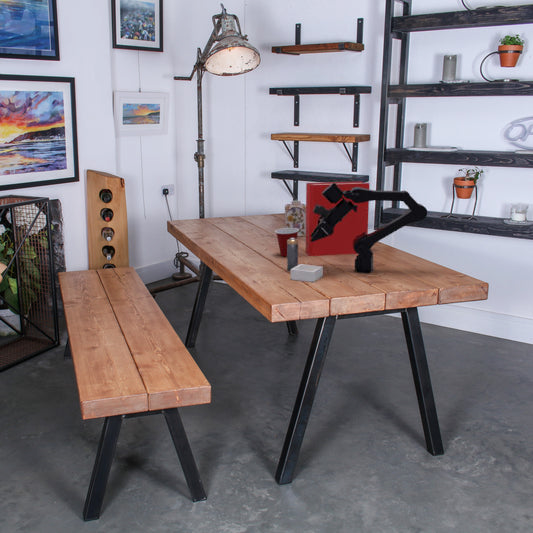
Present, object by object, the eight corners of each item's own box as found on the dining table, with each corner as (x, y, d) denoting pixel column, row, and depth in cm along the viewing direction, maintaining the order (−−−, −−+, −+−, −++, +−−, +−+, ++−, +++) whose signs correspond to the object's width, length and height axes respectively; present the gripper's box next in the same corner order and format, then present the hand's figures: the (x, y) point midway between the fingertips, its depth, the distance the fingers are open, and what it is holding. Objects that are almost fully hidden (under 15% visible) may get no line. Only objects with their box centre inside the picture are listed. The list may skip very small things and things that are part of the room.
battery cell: (299, 269, 253) (299, 237, 250) (295, 271, 249) (295, 239, 246) (289, 268, 255) (290, 236, 252) (285, 270, 251) (285, 238, 248)
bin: (322, 276, 242) (322, 266, 241) (313, 282, 234) (313, 272, 233) (300, 273, 246) (300, 264, 245) (290, 279, 238) (290, 269, 237)
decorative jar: (307, 237, 320) (307, 202, 315) (284, 237, 320) (284, 202, 315) (306, 232, 331) (306, 199, 327) (284, 232, 331) (284, 199, 327)
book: (360, 249, 290) (362, 181, 282) (367, 253, 282) (369, 183, 274) (304, 252, 284) (305, 182, 276) (309, 256, 276) (310, 184, 269)
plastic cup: (271, 254, 281) (271, 228, 278) (293, 252, 284) (293, 226, 282) (280, 259, 271) (280, 232, 268) (302, 257, 275) (302, 230, 272)
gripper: (324, 194, 253) (297, 220, 257) (325, 200, 235) (296, 229, 238) (343, 213, 254) (316, 239, 258) (345, 221, 236) (316, 249, 240)
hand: (311, 238), depth 248 cm, fingers open, 9 cm apart
